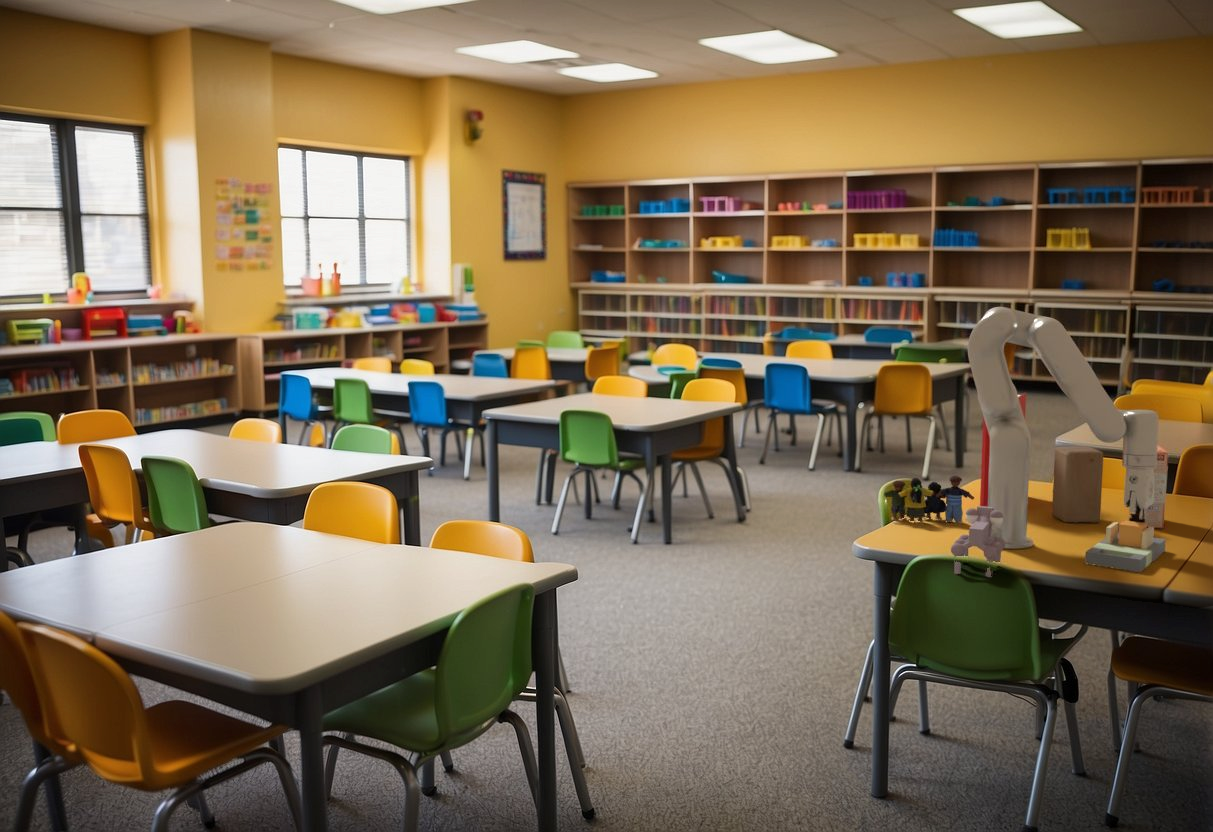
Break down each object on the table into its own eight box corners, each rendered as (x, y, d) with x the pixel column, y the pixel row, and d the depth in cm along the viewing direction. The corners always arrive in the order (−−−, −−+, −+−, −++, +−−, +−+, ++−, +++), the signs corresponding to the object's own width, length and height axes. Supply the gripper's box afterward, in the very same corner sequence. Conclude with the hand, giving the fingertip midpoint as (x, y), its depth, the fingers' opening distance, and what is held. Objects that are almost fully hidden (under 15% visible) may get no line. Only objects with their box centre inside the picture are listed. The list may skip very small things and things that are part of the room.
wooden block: (1101, 523, 296) (1105, 451, 293) (1064, 523, 296) (1068, 451, 293) (1086, 515, 306) (1089, 445, 303) (1050, 515, 306) (1053, 445, 303)
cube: (1140, 547, 258) (1141, 527, 257) (1118, 544, 261) (1119, 524, 261) (1145, 543, 262) (1147, 523, 261) (1123, 540, 265) (1124, 520, 264)
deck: (1140, 572, 248) (1141, 542, 247) (1085, 564, 255) (1086, 535, 254) (1165, 551, 266) (1166, 523, 265) (1113, 543, 274) (1114, 516, 273)
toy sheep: (963, 553, 266) (968, 499, 264) (1008, 560, 261) (1014, 505, 259) (946, 573, 249) (951, 516, 246) (995, 581, 244) (1000, 523, 241)
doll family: (963, 517, 306) (965, 470, 304) (975, 524, 297) (976, 476, 295) (882, 518, 305) (883, 471, 303) (891, 525, 296) (892, 477, 294)
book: (994, 493, 337) (998, 391, 333) (1021, 495, 333) (1026, 392, 329) (979, 510, 314) (982, 401, 309) (1008, 512, 310) (1012, 402, 306)
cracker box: (1165, 529, 288) (1169, 452, 285) (1140, 528, 290) (1144, 451, 287) (1157, 518, 301) (1161, 444, 299) (1133, 516, 303) (1137, 443, 301)
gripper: (1148, 466, 255) (1145, 542, 257) (1163, 457, 266) (1160, 530, 269) (1114, 463, 260) (1112, 538, 262) (1130, 455, 271) (1127, 526, 273)
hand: (1136, 534), depth 265 cm, fingers closed
